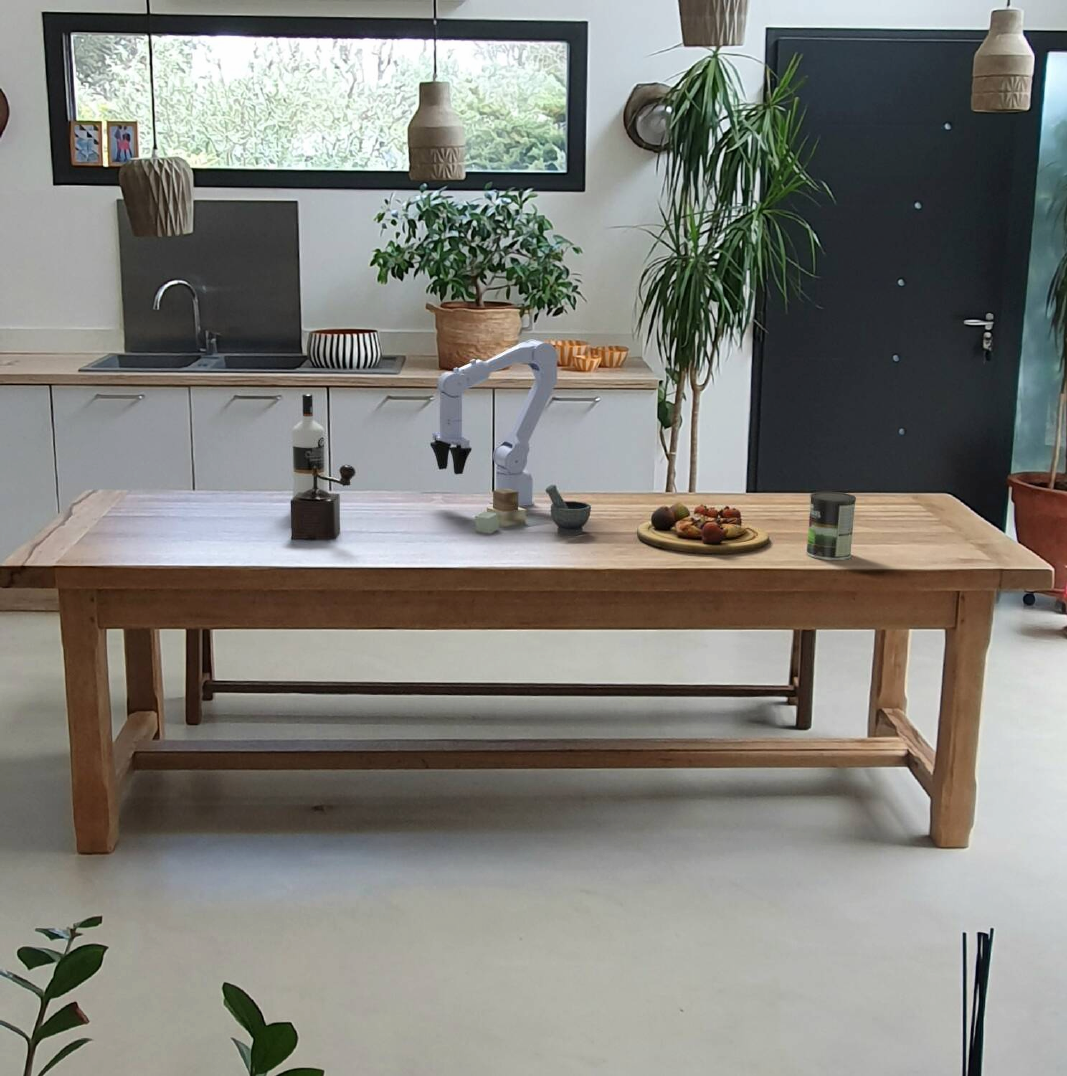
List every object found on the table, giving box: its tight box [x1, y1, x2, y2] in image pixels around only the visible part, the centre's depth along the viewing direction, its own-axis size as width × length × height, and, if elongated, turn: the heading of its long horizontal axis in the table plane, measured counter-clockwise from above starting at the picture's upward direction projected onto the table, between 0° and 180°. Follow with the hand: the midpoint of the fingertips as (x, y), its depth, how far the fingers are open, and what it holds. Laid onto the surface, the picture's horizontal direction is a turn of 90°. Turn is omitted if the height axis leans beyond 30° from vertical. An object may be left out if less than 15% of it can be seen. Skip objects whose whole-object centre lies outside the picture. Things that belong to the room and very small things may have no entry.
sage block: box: [474, 511, 499, 534], centre depth 327 cm, size 4×4×4 cm
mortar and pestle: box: [545, 484, 592, 536], centre depth 327 cm, size 11×9×12 cm
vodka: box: [291, 393, 327, 500], centre depth 343 cm, size 9×9×30 cm
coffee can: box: [805, 491, 857, 562], centre depth 311 cm, size 10×10×14 cm
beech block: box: [486, 506, 527, 527], centre depth 337 cm, size 7×7×4 cm
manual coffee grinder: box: [290, 464, 356, 541], centre depth 319 cm, size 16×11×18 cm
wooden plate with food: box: [636, 501, 770, 555], centre depth 325 cm, size 32×32×8 cm
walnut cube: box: [492, 488, 519, 511], centre depth 335 cm, size 4×4×4 cm
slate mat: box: [461, 514, 552, 533], centre depth 337 cm, size 18×14×1 cm
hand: (450, 471), depth 349 cm, fingers open, 7 cm apart
